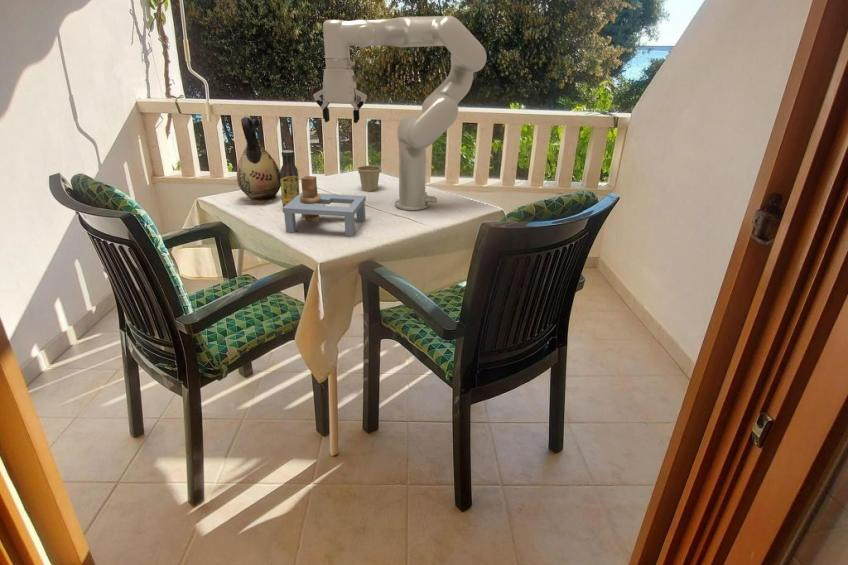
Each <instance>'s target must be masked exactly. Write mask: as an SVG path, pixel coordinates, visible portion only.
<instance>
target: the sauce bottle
mask: <svg viewBox="0 0 848 565" xmlns="http://www.w3.org/2000/svg"><path fill="white" fill-rule="evenodd" d="M294 156H295V152H294V150H292V149H290V150H288V149H287V150H285V149H284V150H282V151H281V157H282V165H281V168H280V169H279V171H280V176H281V178H280V181H281V187H280V191H281V192H280V193H281V203H282V208H283V207H284V206H285V205H287V204H288V203H289V202H290V201H292V200H293V199H294V198H295V197H297V196H298V195H299V194H300V193H301V192H300V182H299V181H300V180H299V170H298V168H297V167H296V165H295V158H294Z"/></svg>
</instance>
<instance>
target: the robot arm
mask: <svg viewBox="0 0 848 565" xmlns="http://www.w3.org/2000/svg"><path fill="white" fill-rule="evenodd" d="M322 27H323V42H324V43H323V44H324V46H323V47H324V55H325V56H324V58H325V60H324V61H325V69H323V77H322V78H323V79H322V80H323V81H322V89H320V90H318V91H317V92H315V93H313V94H312V97H313V98H314V100H315V101H316V104H317V105H318V106H319V107H320V108H321V110H322V117H323V118H322V119H323V120H324V123H328V122H330V109H329V108H328V107H329V105H330V104H339V105H340V104H342V105H344V104H345V105H351V106H352V107H353V111H352V114H353V124H357V123H359V121H360V117H361V116H360V109H362V107H363V106H364V104H365V103H366V100H367V97H368V95H367V94H365V93H363V92H362V91H361V90H358V89H357V83H356V76H355V72H354V69H351V68H352V67H354V66H355V65H356V63H355V62H356V61H355V60H352V59H351V54H350V53H351V52H350V46H352V47H359V48H366V47H378V46H379V47H380V46H383V47H386V46H390V47H397V48H418V47H419V48H420V47H421V48H422V47H445V48H446V49H447V50H448V51H449V53H450V72H449V73H448V76H447V77H446V78H445V79H444V80H443V82H441V84H439V86H437V88H435V89H434V90H433V91H432V93H430V94H429V95H428V96H427V97H426V98H425V99H424V101H423V102H422V106H421V111H422V113H421V114H420V115H415V114H408V115H404V116H403V117H402V119H400V121H399V122H398V125H397V129H396V130H397V133H396V134H397V142H398V190H399V194H398V195H399V198H398V199H397V200H395V202H394V206H395V207H396V208H398V209H400V210H404V211H422V210H425V208H426V209H427V208H429V206H430V203H432V204H438V197H435V195H434V196H433V195H431V196H430V195H429V194H428V192H427V191H426V178H427V177H426V176H427V175H426V174H427V172H426V170H427V150H426V149H427V148H429V147H430V146H432V144H434V143H435V142H436V141H437V140H438V139H439V138H440V137H441V136H442V135H443V134H444V133H445V132H446V131H447V130H448V129H449V128H450V127H452V126H453V124H454V122H455V121H456V119H457V118H458V115H459V105H458V104H460V102H461V101H462V100H463V99H464V98H465V96H466V95H467V94H468V93H469V91H470V90H471V87H472V84H473V80H474V73H477V72H480V71H481V70H482V69H484V67H485V66H486V62H487V58H488V57H487V56H488V55H487V51H486V49H485V48H484V46H483V45H482V43H480V41H479V40H478V39H477V38H476V37H475V36H474V35H473V34H472V33H471V31H470V30H469V29H468V28H467V27H466V26H465V25H464V24H463V23H462V22H461V21H460V20H459V18H456V17H455V16H453V15H445V16H443V15H439V16H438V15H437V16H402V17H401V16H399V17H395V18H386V19H385V18H384V19H361V18H360V19H355V20H343V19H326V20H324V22H323V24H322ZM320 96H323V100H322V99H321V97H320ZM358 97H359V98H360V100H359V102H357V101H358ZM421 209H422V210H421Z"/></svg>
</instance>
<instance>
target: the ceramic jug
mask: <svg viewBox="0 0 848 565" xmlns="http://www.w3.org/2000/svg"><path fill="white" fill-rule="evenodd" d="M240 121H241V128H242V131H243V134H244V138H245V142H246V145H245V148H244V150H243V152H242V154H241V156H240V159H239V160H238V164H237V167H236V168H237V169H236V181H237V185H238V187H239V188H240V190H241V191H242V192H243V194H245V195H246V196H247V197H248V199H249V200H250V201H251V202H252V203H255V204H263V203H268V202H272V201H273V202H274V201H275V200H276V199H277V196H276V195H278V193H279V191H280V190H281V181H280V178H281V176H280V169H279V166H278V164H277V163H276V161H275V159H274V158H273V156H271V154H270V153H269V152H268V151H267V149H265V148H264V147H263V145H261V143H260V141H259V140H258V136H257V128H258V127H260V122H259V120H258V119H256V118H253V119H252V118H251V117H248V116H243V117H242V118H241V120H240Z"/></svg>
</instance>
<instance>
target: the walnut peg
mask: <svg viewBox="0 0 848 565" xmlns="http://www.w3.org/2000/svg"><path fill="white" fill-rule="evenodd" d="M300 181H301V191H302V192H301V193H302V194H303V195H301V196H300V202H301V203H304V204H315V203H316V204H317V203H319V202H320V201H321V196H320V195H319V194H317V193H318V186H317V185H318V183H317V176H312V175H311V176H310V175H304V176H303V177H301V179H300ZM320 216H321V215H312V214H306V215H305V216H304V218H303V219H304V221H306V222H317V221H319V220H321V218H320Z"/></svg>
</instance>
